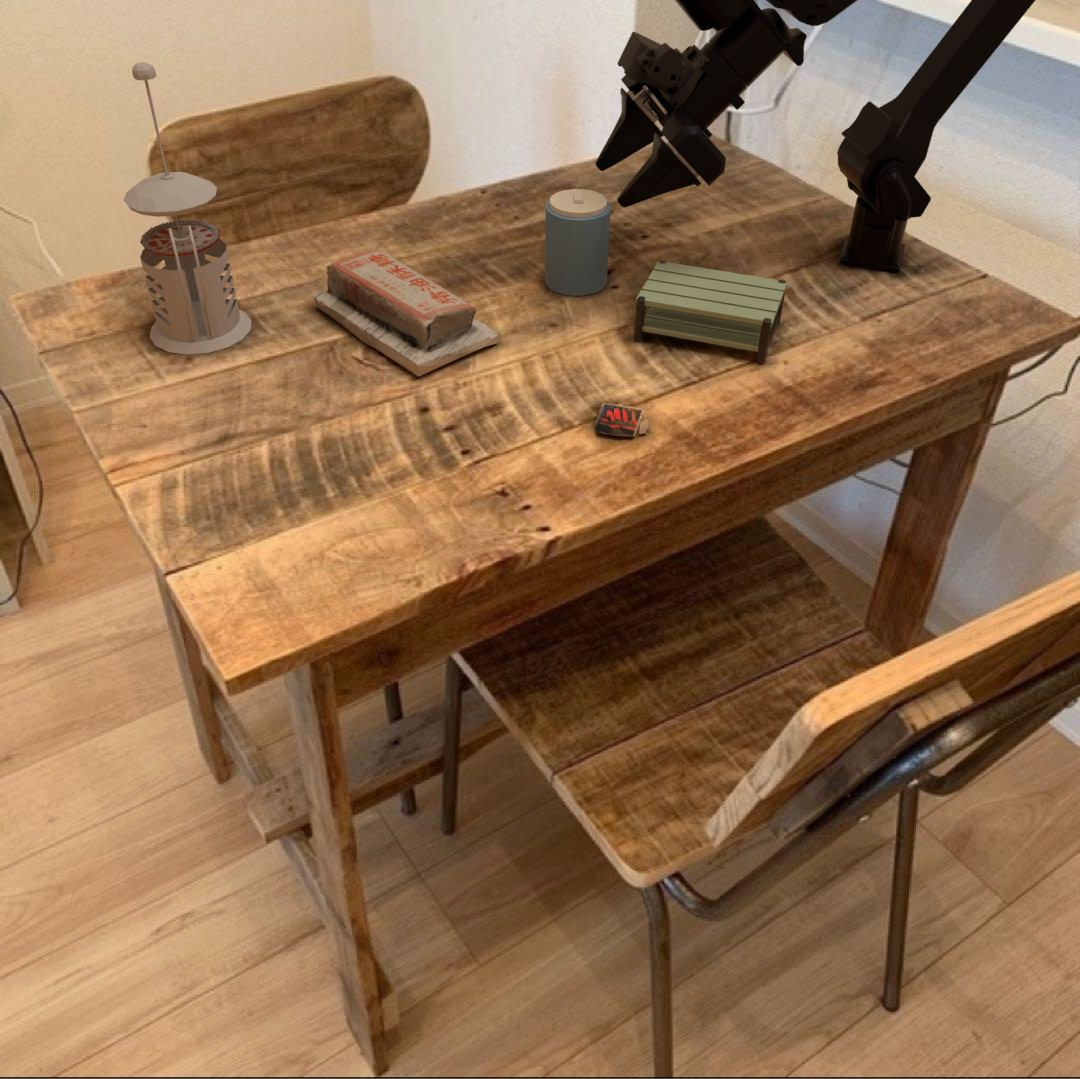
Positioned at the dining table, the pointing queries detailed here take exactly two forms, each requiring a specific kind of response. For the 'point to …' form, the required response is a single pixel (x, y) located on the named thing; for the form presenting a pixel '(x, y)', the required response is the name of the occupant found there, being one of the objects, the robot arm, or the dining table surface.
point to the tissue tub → (577, 242)
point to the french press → (185, 260)
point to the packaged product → (401, 312)
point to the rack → (710, 307)
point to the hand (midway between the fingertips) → (608, 185)
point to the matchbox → (620, 420)
